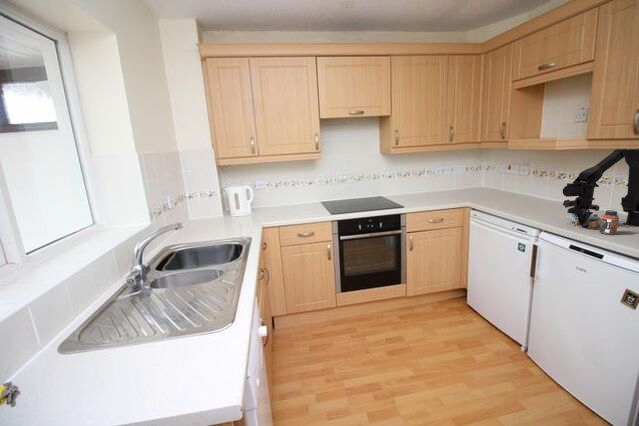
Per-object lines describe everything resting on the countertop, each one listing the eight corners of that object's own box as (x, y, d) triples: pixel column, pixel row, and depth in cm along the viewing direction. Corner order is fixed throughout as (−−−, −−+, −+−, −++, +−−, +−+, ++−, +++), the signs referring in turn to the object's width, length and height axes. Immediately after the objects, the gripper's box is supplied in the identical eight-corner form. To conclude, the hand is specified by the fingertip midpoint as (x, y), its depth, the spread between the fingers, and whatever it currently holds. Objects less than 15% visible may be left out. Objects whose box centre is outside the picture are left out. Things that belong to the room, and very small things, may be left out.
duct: (586, 221, 166) (587, 216, 166) (602, 224, 160) (603, 219, 160) (574, 225, 161) (575, 220, 160) (590, 228, 155) (591, 222, 154)
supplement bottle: (610, 235, 142) (614, 212, 139) (596, 232, 147) (599, 210, 145) (619, 234, 143) (623, 211, 141) (604, 231, 149) (608, 209, 146)
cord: (585, 224, 162) (586, 219, 161) (591, 225, 159) (592, 220, 159) (578, 226, 159) (578, 221, 158) (584, 227, 156) (585, 222, 156)
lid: (592, 216, 166) (593, 208, 165) (601, 218, 159) (603, 210, 158) (565, 216, 167) (566, 208, 166) (574, 219, 160) (575, 211, 159)
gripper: (576, 192, 165) (572, 219, 168) (557, 195, 156) (553, 224, 160) (602, 194, 155) (597, 223, 158) (583, 198, 147) (579, 229, 150)
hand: (581, 225), depth 157 cm, fingers closed
